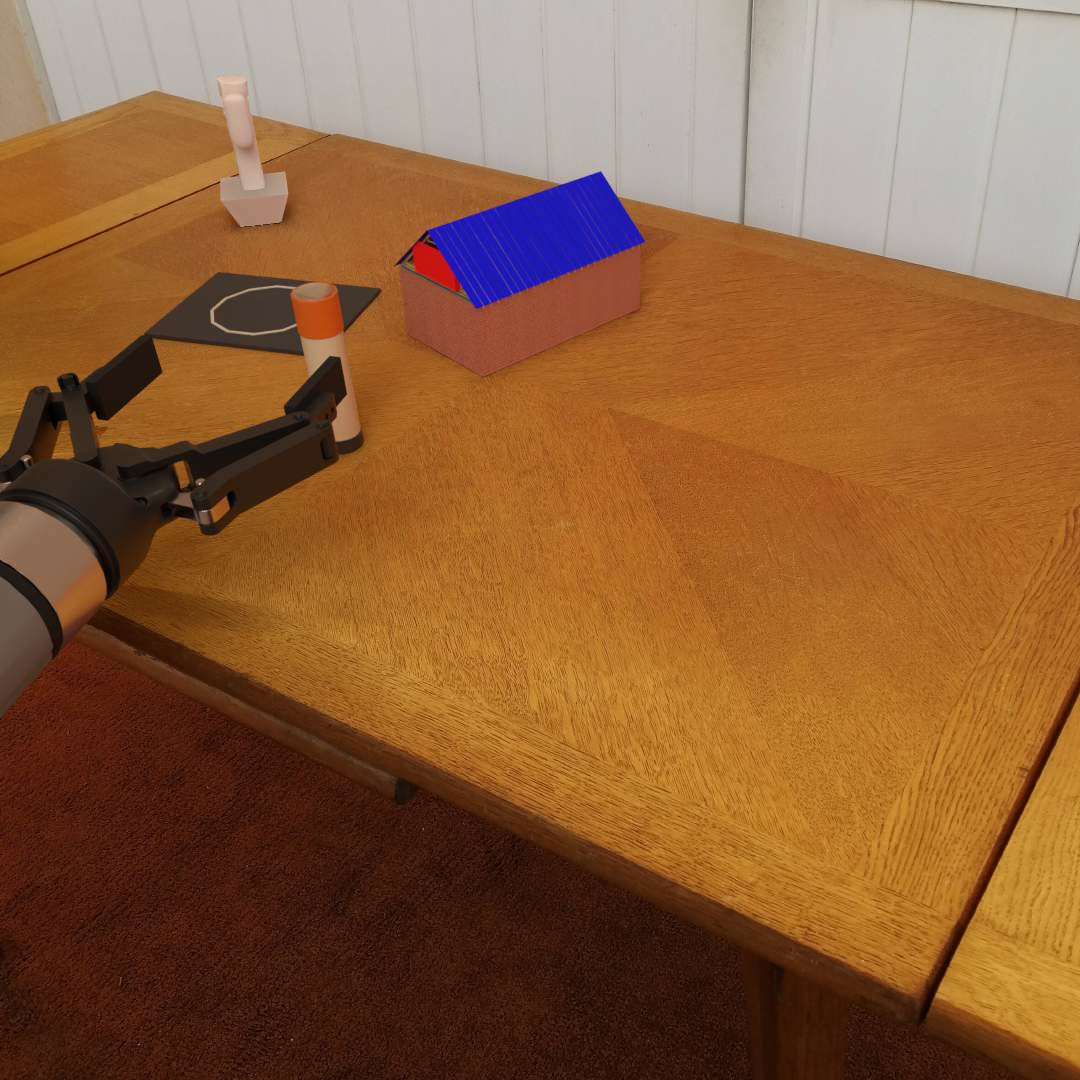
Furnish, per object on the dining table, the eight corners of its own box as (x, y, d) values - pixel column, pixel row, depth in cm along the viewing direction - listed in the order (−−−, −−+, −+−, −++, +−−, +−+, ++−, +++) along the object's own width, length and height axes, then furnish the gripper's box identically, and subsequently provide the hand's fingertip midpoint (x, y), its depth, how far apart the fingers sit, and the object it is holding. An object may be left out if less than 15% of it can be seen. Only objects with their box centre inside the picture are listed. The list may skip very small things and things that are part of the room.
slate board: (144, 337, 105) (143, 332, 104) (218, 275, 115) (217, 270, 115) (320, 357, 101) (320, 352, 101) (381, 291, 111) (380, 287, 111)
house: (644, 308, 108) (646, 187, 100) (482, 379, 98) (470, 251, 90) (562, 271, 115) (558, 155, 107) (402, 334, 104) (385, 211, 97)
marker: (314, 451, 89) (282, 299, 81) (332, 429, 92) (302, 279, 83) (353, 457, 88) (325, 303, 80) (370, 434, 91) (345, 284, 83)
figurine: (291, 200, 131) (264, 62, 121) (295, 230, 124) (267, 87, 114) (227, 206, 129) (195, 68, 120) (228, 237, 122) (194, 93, 113)
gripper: (-124, 577, 63) (95, 394, 79) (279, 645, 58) (427, 435, 74) (-186, 465, 58) (60, 293, 74) (248, 528, 53) (413, 330, 69)
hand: (244, 364), depth 74 cm, fingers open, 13 cm apart
